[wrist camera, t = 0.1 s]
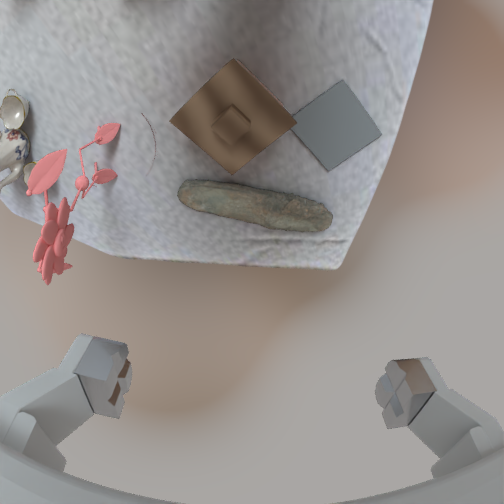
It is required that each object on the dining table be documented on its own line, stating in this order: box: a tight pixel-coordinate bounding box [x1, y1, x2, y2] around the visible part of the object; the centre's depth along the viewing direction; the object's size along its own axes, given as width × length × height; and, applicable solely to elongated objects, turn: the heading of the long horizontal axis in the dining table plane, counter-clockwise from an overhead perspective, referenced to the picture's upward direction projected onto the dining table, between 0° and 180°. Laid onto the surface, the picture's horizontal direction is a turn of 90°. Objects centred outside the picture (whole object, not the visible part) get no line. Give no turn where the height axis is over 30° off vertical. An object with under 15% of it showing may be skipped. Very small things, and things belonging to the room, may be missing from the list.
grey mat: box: [291, 80, 382, 171], centre depth 53 cm, size 14×14×1 cm
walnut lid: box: [169, 58, 297, 175], centre depth 42 cm, size 14×14×4 cm
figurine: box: [26, 114, 158, 285], centre depth 45 cm, size 15×26×35 cm, turn 160°
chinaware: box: [0, 89, 38, 192], centre depth 47 cm, size 28×17×17 cm, turn 9°
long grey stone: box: [177, 179, 333, 232], centre depth 65 cm, size 35×5×10 cm
